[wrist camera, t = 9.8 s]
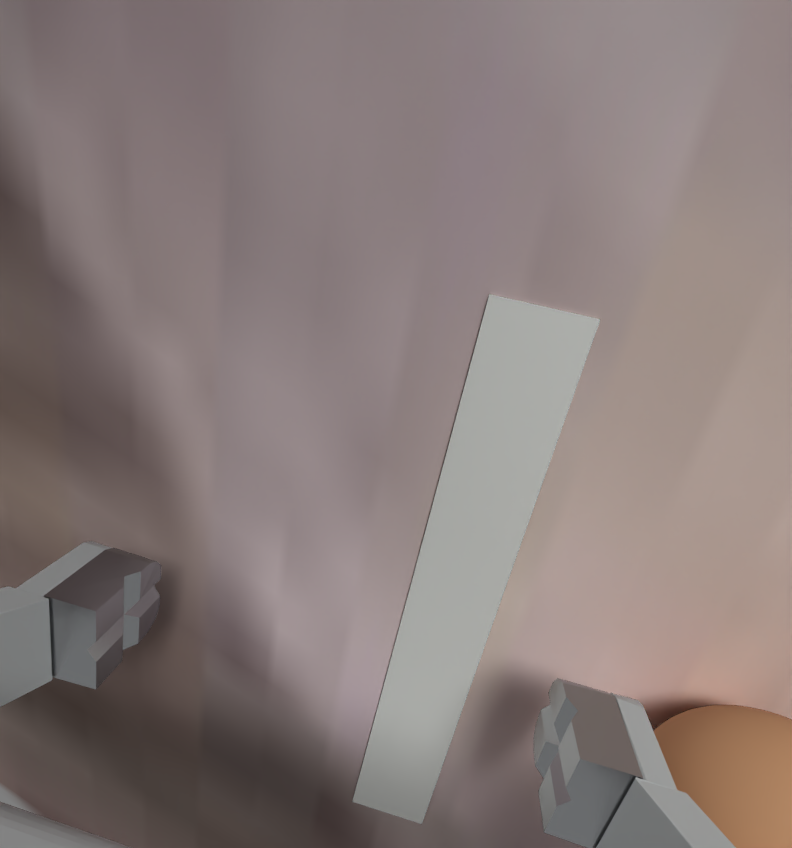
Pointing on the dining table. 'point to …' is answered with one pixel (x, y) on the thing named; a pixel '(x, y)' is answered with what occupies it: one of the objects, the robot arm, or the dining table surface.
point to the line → (471, 541)
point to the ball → (734, 770)
